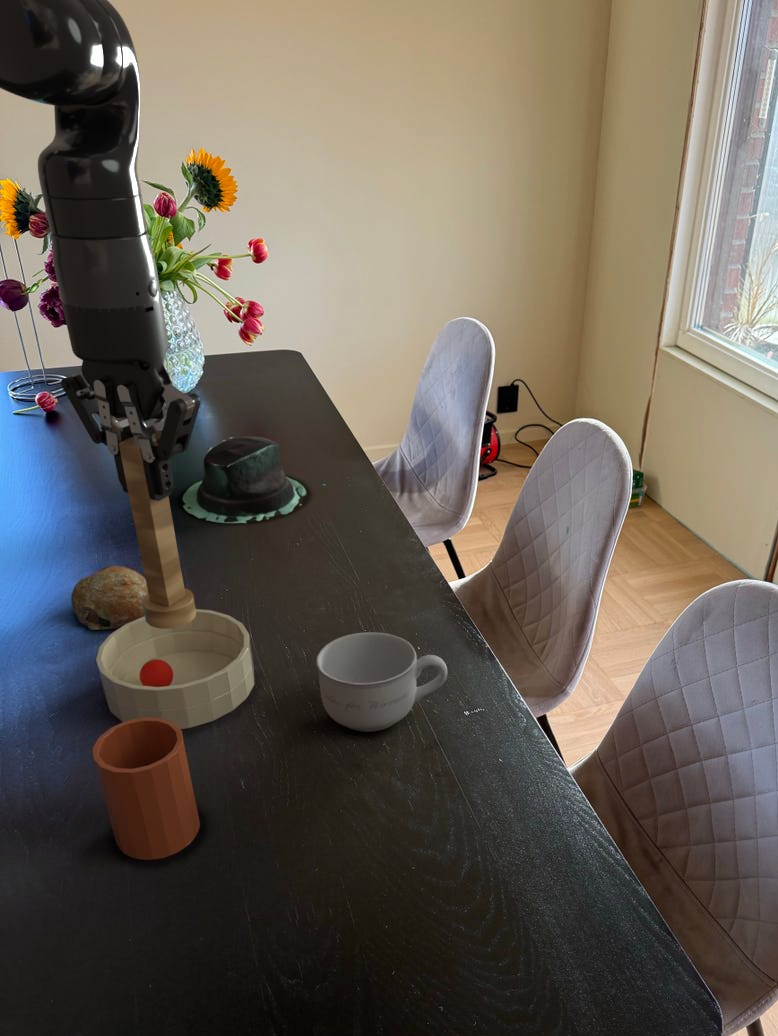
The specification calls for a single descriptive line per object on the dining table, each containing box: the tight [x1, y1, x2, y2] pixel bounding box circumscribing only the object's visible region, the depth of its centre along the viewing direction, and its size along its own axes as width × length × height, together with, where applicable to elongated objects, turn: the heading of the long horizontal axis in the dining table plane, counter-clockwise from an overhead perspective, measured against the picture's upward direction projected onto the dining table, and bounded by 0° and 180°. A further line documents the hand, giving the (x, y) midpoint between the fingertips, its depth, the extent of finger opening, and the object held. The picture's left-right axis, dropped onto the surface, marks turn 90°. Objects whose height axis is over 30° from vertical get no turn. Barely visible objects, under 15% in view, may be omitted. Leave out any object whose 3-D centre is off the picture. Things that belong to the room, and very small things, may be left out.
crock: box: [92, 717, 201, 861], centre depth 80 cm, size 7×7×11 cm
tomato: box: [139, 659, 173, 687], centre depth 100 cm, size 4×4×4 cm
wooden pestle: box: [119, 436, 197, 629], centre depth 82 cm, size 5×5×18 cm
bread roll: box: [70, 565, 148, 631], centre depth 114 cm, size 10×10×8 cm
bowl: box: [95, 608, 255, 730], centre depth 100 cm, size 16×16×6 cm
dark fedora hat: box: [182, 436, 307, 524], centre depth 146 cm, size 15×19×20 cm
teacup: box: [315, 631, 448, 733], centre depth 97 cm, size 14×11×8 cm
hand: (148, 493), depth 80 cm, fingers closed on wooden pestle, 2 cm apart
